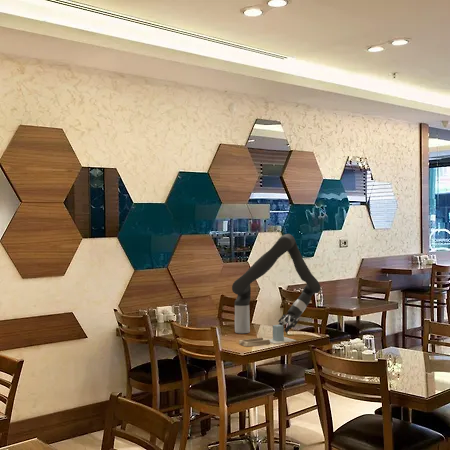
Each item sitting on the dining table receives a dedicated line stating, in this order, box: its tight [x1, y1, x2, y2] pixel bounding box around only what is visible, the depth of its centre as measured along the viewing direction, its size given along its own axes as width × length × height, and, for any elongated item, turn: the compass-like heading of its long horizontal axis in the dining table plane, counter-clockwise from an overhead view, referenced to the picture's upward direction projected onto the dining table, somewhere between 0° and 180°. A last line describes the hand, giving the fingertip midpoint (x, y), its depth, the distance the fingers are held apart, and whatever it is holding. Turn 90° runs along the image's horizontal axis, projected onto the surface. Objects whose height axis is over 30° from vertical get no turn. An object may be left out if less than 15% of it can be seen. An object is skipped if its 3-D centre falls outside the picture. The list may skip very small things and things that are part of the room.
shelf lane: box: [238, 336, 271, 348], centre depth 329 cm, size 8×15×2 cm, turn 118°
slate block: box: [272, 324, 285, 341], centre depth 337 cm, size 5×5×8 cm
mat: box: [264, 336, 297, 345], centre depth 337 cm, size 12×15×1 cm
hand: (281, 330), depth 338 cm, fingers open, 8 cm apart
